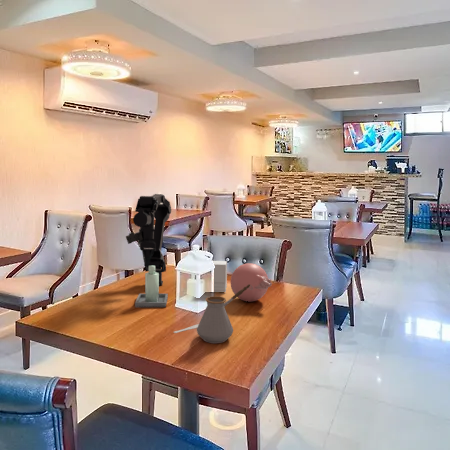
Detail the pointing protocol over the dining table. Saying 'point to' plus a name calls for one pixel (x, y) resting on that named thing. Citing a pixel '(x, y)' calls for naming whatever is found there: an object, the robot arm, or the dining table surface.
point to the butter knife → (187, 328)
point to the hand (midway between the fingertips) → (145, 263)
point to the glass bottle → (152, 285)
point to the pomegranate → (250, 282)
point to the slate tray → (142, 303)
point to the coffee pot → (217, 319)
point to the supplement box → (220, 276)
